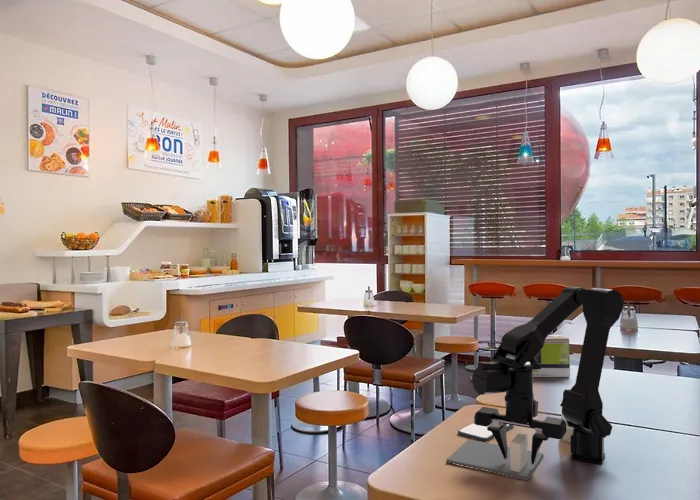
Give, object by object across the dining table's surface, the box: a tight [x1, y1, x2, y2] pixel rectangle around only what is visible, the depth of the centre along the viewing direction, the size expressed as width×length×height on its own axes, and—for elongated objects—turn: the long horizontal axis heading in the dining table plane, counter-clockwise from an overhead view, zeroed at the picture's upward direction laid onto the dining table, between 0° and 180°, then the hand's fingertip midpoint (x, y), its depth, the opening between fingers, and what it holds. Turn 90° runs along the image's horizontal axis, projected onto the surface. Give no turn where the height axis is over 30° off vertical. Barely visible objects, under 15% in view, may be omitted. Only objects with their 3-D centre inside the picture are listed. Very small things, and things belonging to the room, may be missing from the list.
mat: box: [445, 438, 544, 481], centre depth 125 cm, size 18×15×1 cm
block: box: [509, 432, 529, 472], centre depth 120 cm, size 7×2×6 cm, turn 148°
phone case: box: [457, 422, 514, 442], centre depth 145 cm, size 9×2×16 cm
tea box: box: [533, 334, 571, 378], centre depth 207 cm, size 15×10×15 cm, turn 84°
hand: (519, 460), depth 120 cm, fingers open, 6 cm apart
